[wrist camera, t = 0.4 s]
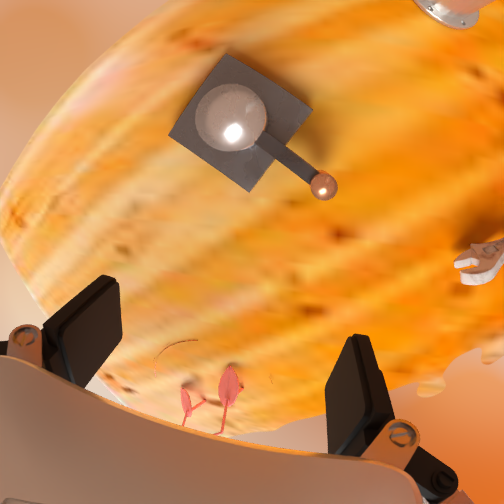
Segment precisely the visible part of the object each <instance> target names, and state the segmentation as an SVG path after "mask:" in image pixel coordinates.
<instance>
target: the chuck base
mask: <svg viewBox="0 0 504 504" xmlns="http://www.w3.org/2000/svg"><path fill="white" fill-rule="evenodd" d="M224 84H238V85H242V86H245V87H247V88H249V89H251V90H252V91H253V92H255V93H256V94H257V96H258V97H259V98H260V99H261V101H262V102H263V104H264V105H265V107H266V109H267V112H268V127H267V130H266V132H267V133H268V134H270V135H271V136H273V137H274V138H275V139H277V140H278V141H280V142H281V143H282V144H284V145H285V146H286V144H287V143H288V142H289V141H290V139H291V138H292V137H293V135H294V134H295V133H296V132H297V130H298V129H299V128H300V126H301V125H302V124H303V123H304V121H305V120H306V119H307V118H308V116H309V115H310V114H311V113H312V111H313V109H311V108H310V107H309V106H307V105H306V104H305V103H303V102H302V101H300V100H299V99H298V98H296V97H295V96H293V95H292V94H290V93H289V92H288V91H286V90H285V89H283V88H282V87H280V86H279V85H277V84H276V83H274V82H273V81H271V80H269V79H268V78H266V77H265V76H263V75H262V74H260V73H258V72H257V71H255V70H254V69H252V68H250V67H249V66H247V65H245V64H244V63H242V62H240V61H239V60H237V59H235V58H233V57H232V56H230V55H228V54H225V55H224V56H223V58H222V59H221V60H220V62H219V63H218V64H217V65H216V67H215V68H214V69H213V71H212V72H211V73H210V75H209V76H208V77H207V79H206V80H205V81H204V83H203V84H202V86H201V87H200V88H199V90H198V91H197V93H196V94H195V95H194V97H193V98H192V100H191V101H190V103H189V104H188V106H187V107H186V108H185V110H184V111H183V113H182V114H181V116H180V117H179V119H178V121H177V122H176V124H175V125H174V127H173V128H172V130H171V131H170V133H169V135H168V136H170V137H171V138H173V139H174V140H176V141H177V142H178V143H180V144H181V145H183V146H184V147H186V148H187V149H189V150H190V151H192V152H193V153H194V154H196V155H197V156H199V157H200V158H202V159H203V160H204V161H206V162H207V163H209V164H210V165H212V166H213V167H214V168H216V169H217V170H219V171H220V172H221V173H223V174H224V175H226V176H227V177H228V178H230V179H231V180H233V181H234V182H235V183H237V184H238V185H239V186H241V187H242V188H244V189H245V190H246V191H248V192H250V191H251V190H252V189H253V188H254V186H255V185H256V184H257V182H258V181H259V180H260V178H261V177H262V176H263V174H264V173H265V172H266V170H267V169H268V168H269V166H270V165H271V164H272V163H273V161H274V160H275V158H274V157H273V156H271V155H270V154H269V153H267V152H266V151H264V150H263V149H262V148H260V147H259V146H257V145H256V144H255V145H254V146H252V147H250V148H247V149H244V150H238V151H221V150H217V149H215V148H213V147H211V146H209V145H208V144H207V143H206V142H205V141H204V140H203V139H202V138H201V137H200V135H199V133H198V131H197V128H196V123H195V114H196V110H197V107H198V104H199V102H200V101H201V99H202V98H203V97H204V95H206V94H207V93H208V92H209V91H210V90H212V89H213V88H215V87H218V86H220V85H224Z"/></svg>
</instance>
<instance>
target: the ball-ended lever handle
mask: <svg viewBox="0 0 504 504" xmlns="http://www.w3.org/2000/svg"><path fill="white" fill-rule="evenodd" d="M195 123H196V128H197V131H198V133H199V135H200V137H201V138H202V139H203V140H204V141H205V142H206V143H207V144H208V145H209V146H211V147H213V148H215V149H217V150H221V151H238V150H244V149H247V148H250V147H252V146H254V145H255V144H256V145H257V146H259V147H260V148H262V149H263V150H264V151H266V152H267V153H269V154H270V155H271V156H273V157H274V158H275V159H277V160H278V161H279V162H281V163H282V164H283V165H285V166H286V167H287V168H289V169H290V170H291V171H293V172H294V173H295V174H297V175H298V176H299V177H300V178H302V179H303V180H304V181H306V182H307V183H308V184H309V186H310V188H311V191H312V193H313V195H314V196H315V197H316V198H318V199H320V200H329V199H331V198H333V197H334V196H335V194H336V192H337V188H338V187H337V182H336V180H335V179H334V178H333V177H332V176H331V175H330V174H328V173H327V172H326V171H323V170H316V169H315V168H314V167H312V166H311V165H310V164H309V163H307V162H306V161H305V160H304V159H302V158H301V157H300V156H298V155H297V154H296V153H294V152H293V151H292V150H290V149H289V148H288V147H286V146H285V145H284V144H282V143H281V142H280V141H278V140H277V139H275V138H274V137H273V136H271V135H270V134H268V133H267V132H266V130H267V127H268V112H267V109H266V107H265V105H264V104H263V102H262V101H261V99H260V98H259V97H258V96H257V94H256V93H255V92H253V91H252V90H251V89H249V88H247V87H245V86H242V85H238V84H224V85H220V86H218V87H215V88H213V89H212V90H210V91H209V92H208V93H207V94H206V95H204V97H203V98H202V99H201V101H200V102H199V104H198V107H197V110H196V114H195Z"/></svg>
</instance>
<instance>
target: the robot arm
mask: <svg viewBox="0 0 504 504" xmlns="http://www.w3.org/2000/svg"><path fill="white" fill-rule="evenodd" d="M493 1H495V0H414V2H415V3H416V4H417V5H418V6H419V7H420V8H421V9H422V10H423V11H424V12H425V13H426V14H427V15H429V16H430V17H431V18H433V19H434V20H436V21H438V22H439V23H441V24H443V25H445V26H447V27H450V28H454V29H460V30H463V29H468V28H470V27H472V26H473V25H475V24H476V22H477V21H478V18H479V9H481V8H483V7H484V6H486V5H488V4H490V3H491V2H493ZM43 327H44V328H43V329H42V330H40V329H39V328H38V327H36V326H34V325H28V324H26V325H21V326H19V327H16V328H15V329H14V330H13V331H12V332H11V333H10V335H9V340H8V341H0V504H474V503H473V502H472V500H471V499H470V498H469V497H468V496H467V495H466V493H465V492H464V491H463V490H461V491H460V492H459V491H458V490H457V488H458V478H457V475H456V473H455V472H454V471H453V470H452V469H451V468H450V467H448V466H447V465H445V464H444V463H442V462H441V461H440V460H438V459H436V458H435V457H434V456H432V455H431V454H429V453H428V452H427V451H425V450H424V449H422V448H421V447H420V446H418V445H419V443H420V434H419V431H418V429H417V428H416V427H415V426H414V425H413V424H412V423H411V422H409V421H406V420H403V419H395V416H394V412H393V408H392V405H391V401H390V397H389V394H388V390H387V387H386V383H385V380H384V376H383V373H382V371H381V370H379V368H378V364H377V361H376V358H375V355H374V351H373V348H372V345H371V342H370V339H369V336H367V335H361V334H354V335H353V336H352V337H350V336H349V337H348V338H347V340H346V342H345V345H344V347H343V349H342V351H341V354H340V356H339V358H338V360H337V362H336V364H335V366H334V369H333V371H332V373H331V375H330V377H329V379H328V381H327V383H326V386H325V402H326V418H327V435H328V454H326V453H315V452H306V451H298V450H291V449H284V448H277V447H270V446H265V445H259V444H254V443H248V442H243V441H239V440H234V439H229V438H225V437H221V436H217V435H213V434H209V433H205V432H201V431H197V430H194V429H190V428H187V427H183V426H180V425H177V424H173V423H170V422H167V421H164V420H161V419H158V418H155V417H152V416H149V415H147V414H144V413H141V412H138V411H136V410H133V409H131V408H128V407H125V406H123V405H120V404H118V403H115V402H113V401H111V400H108V399H106V398H103V397H101V396H99V395H97V394H95V393H93V392H90V391H88V390H86V389H84V388H85V387H86V385H87V384H88V383H89V381H90V380H91V379H92V377H93V376H94V375H95V373H96V372H97V371H98V369H99V368H100V367H101V366H102V364H103V363H104V362H105V360H106V359H107V358H108V356H109V355H110V354H111V353H112V351H113V350H114V349H115V347H116V346H117V345H118V344H119V342H120V341H121V339H122V322H121V308H120V289H119V283H118V282H116V279H115V278H113V277H110V276H107V275H101V276H100V277H98V278H97V279H96V280H95V281H93V282H92V283H91V284H90V285H88V286H87V287H86V288H85V289H84V290H82V291H81V292H80V293H79V294H77V295H76V296H75V297H74V298H73V299H71V300H70V301H69V302H68V303H67V304H66V305H64V306H63V307H62V308H61V309H60V310H58V311H57V312H56V313H55V314H54V315H53V316H51V317H50V318H49V319H48V320H47V321H46V322H45V323H44V324H43Z"/></svg>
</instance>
